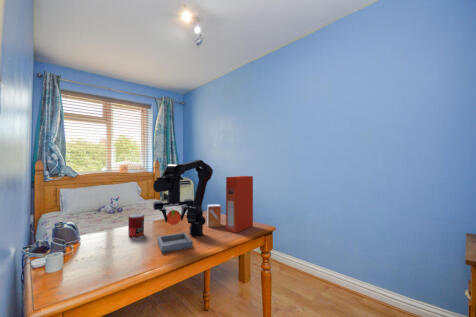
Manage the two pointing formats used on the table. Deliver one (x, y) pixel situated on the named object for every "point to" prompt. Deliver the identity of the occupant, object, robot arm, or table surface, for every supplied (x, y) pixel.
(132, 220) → the canned food
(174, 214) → the clementine
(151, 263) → the table surface
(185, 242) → the tray
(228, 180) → the file binder
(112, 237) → the table surface
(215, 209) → the small box
